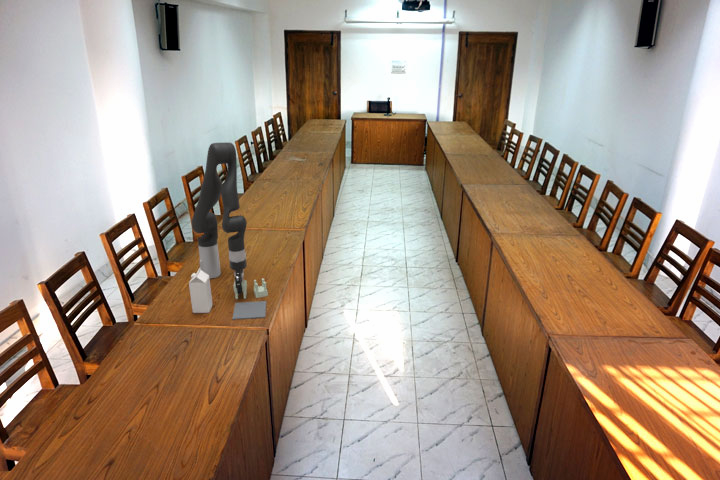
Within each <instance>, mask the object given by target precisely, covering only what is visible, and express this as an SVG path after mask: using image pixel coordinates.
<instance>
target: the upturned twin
mask: <svg viewBox="0 0 720 480" xmlns="http://www.w3.org/2000/svg"><path fill="white" fill-rule="evenodd" d="M253 294H254V297H255V298H256V299H258V298H264V297H268V296H269V293H268V289H267V282H266V281H265V278H261V285H260V286H259V284H258V283H257V279H253Z"/></svg>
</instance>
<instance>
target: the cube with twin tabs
mask: <svg viewBox="0 0 720 480" xmlns="http://www.w3.org/2000/svg"><path fill="white" fill-rule="evenodd" d="M238 285H240V284H238ZM247 287H248V282H247V279H243V282H242V292H243V293H242V294H243V299H247V294H248V290H247ZM233 292H234V297H235V300H238V299H239V295H240V294H238V293H237V288H236V284H235V280H234V283H233Z"/></svg>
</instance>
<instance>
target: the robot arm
mask: <svg viewBox="0 0 720 480" xmlns="http://www.w3.org/2000/svg"><path fill="white" fill-rule="evenodd" d="M206 156H207V157H206V164H205V169H204V176H203V179H202V183H201V187H200V192H199V197H198V200H197V205H196V206H195V210H194V212H193V215H192V218H191V228H192V230H193V231H194V232H195V233H196V234H202V235H201V236H199V237H198V239H197V244H198V252H199V253H198V254H199V260H198V261H199V268H200V269H201V270H202V271H203V272H205V273H206V274H208V275H209V279H215V278H218V277H220V276H221V273H222V272H221V264H220V255H219V253H220V252H219V246H218V244H219V243H218V239H219V234H218V232H219V231H218V221H217V217H216V215H215V214H214V212H212V209H213V208H214V207H215V205H216V204H217V203H218V202H219V200H220V199H221V201H222V207H223V214H222V215H223V216H222V222H221V227H222V231H223V232H225V233H226V234H231V233H236V234H233V235H231V236H229V237H228V238H227V246H228V259H229V260H228V261H229V268H230V269H231V270H232V271H234V272H233V273H234V281H235V284H236V288H237V293H238V294H239V295H242V294H243V291H242V282H243V280H245V279H244V278H245V274H244V273H245V269H246V268H247V254H246V249H245V234H246V230H247V219H246V217H245V216H243V215H241V214H239V215H234V216H230V214H231V213H232V212H236V211H238V210H240V206H241V205H240V199H239V193H238V182H237V180H238V177H237V176H238V168H237V163H238V162H237V152H236V147H235V145H234V144H233V143H232V142H214V143H211V144H210V145H209V147H208V150H207V155H206ZM219 165H227V173H226V177H225V180H224V183H223V182H222V180H221V178H220V176H219V174H218V173H217V169H218V168H217V167H218V166H219ZM238 284H240V285H238Z"/></svg>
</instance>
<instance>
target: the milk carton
mask: <svg viewBox="0 0 720 480" xmlns="http://www.w3.org/2000/svg"><path fill="white" fill-rule="evenodd" d="M190 278H191V279H190V280H189V282H188V286H189V287H188V288H189V294H190V301H191V308H192V313H193V314H209V313H210V312H211V310H212V307H213V297H212V289H211V281H210V279H209V275H208V274H206V273H205V272H203V271H202V270H201V269H200V267H199V268H198V270H197V272H196V273H195V272H193V273H192V274H191V276H190Z"/></svg>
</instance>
